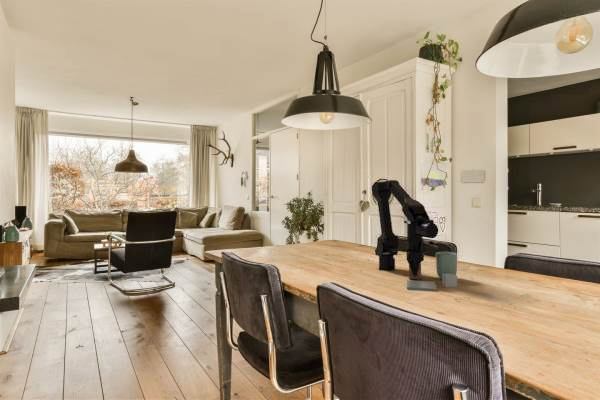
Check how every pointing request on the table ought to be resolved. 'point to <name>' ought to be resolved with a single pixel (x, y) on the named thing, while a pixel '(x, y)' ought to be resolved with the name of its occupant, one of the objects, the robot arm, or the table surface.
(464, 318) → the table surface
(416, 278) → the walnut block
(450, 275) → the painted cube
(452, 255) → the cup
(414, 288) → the coaster
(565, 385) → the table surface
